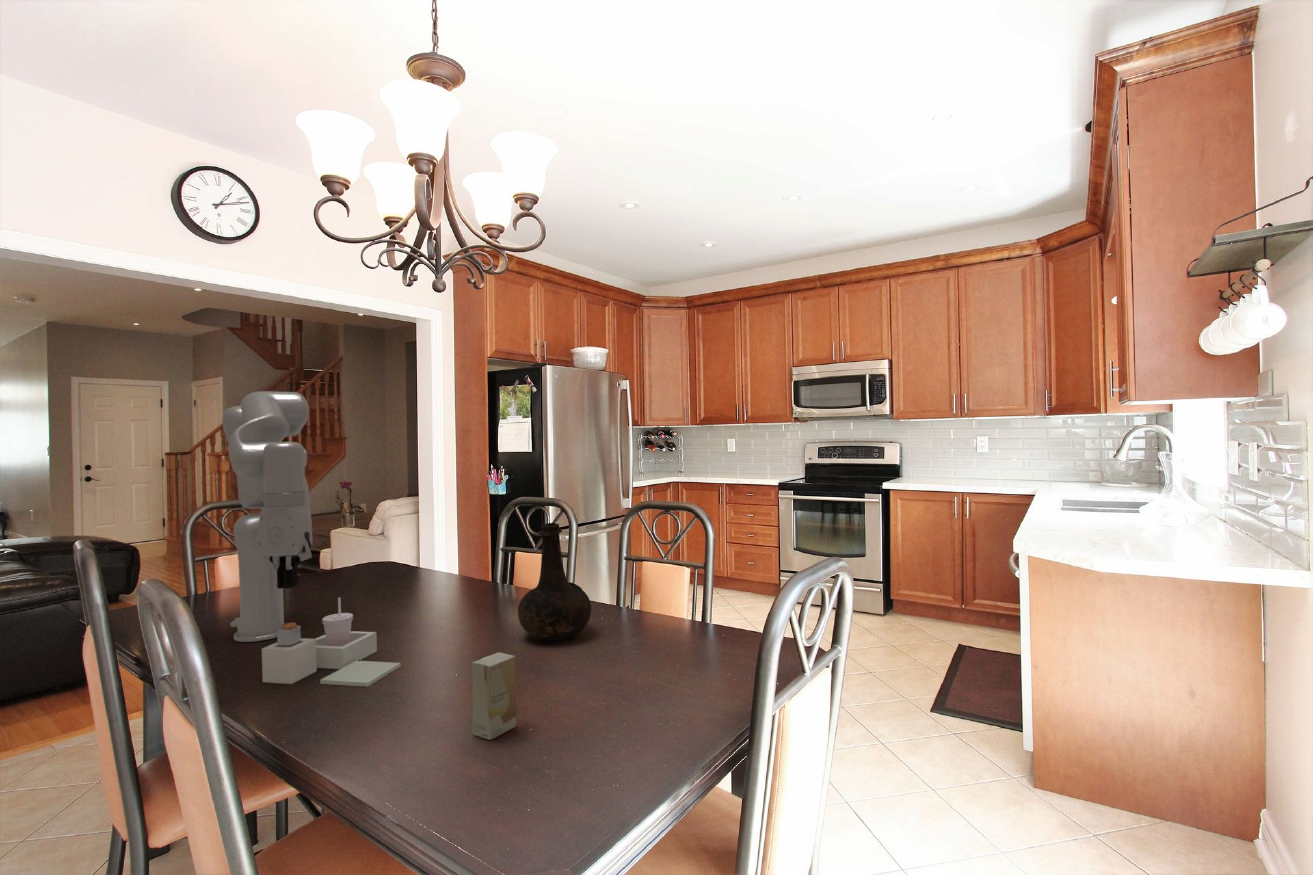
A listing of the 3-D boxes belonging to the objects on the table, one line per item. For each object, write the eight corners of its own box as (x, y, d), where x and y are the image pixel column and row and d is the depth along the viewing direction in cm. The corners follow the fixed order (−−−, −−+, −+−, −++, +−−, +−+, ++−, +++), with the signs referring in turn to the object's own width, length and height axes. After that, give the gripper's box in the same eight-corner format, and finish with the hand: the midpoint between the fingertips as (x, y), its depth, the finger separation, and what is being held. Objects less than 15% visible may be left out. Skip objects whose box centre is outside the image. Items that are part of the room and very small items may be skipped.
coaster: (320, 683, 128) (320, 679, 128) (356, 664, 139) (356, 660, 139) (367, 686, 126) (367, 682, 126) (400, 666, 137) (400, 662, 137)
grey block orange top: (278, 657, 131) (277, 626, 131) (289, 652, 134) (288, 622, 134) (290, 658, 131) (289, 626, 131) (301, 653, 134) (300, 622, 134)
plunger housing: (262, 682, 130) (261, 648, 130) (288, 669, 137) (288, 637, 137) (291, 683, 128) (290, 650, 128) (316, 671, 135) (315, 638, 135)
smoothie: (341, 664, 139) (339, 601, 139) (316, 663, 140) (314, 601, 140) (360, 654, 145) (358, 594, 145) (336, 653, 146) (334, 593, 146)
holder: (298, 666, 138) (297, 646, 138) (334, 649, 149) (334, 630, 149) (343, 669, 136) (342, 648, 136) (376, 651, 147) (376, 632, 147)
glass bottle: (606, 633, 156) (603, 521, 156) (550, 653, 143) (547, 531, 143) (559, 620, 168) (556, 517, 168) (503, 638, 154) (500, 525, 154)
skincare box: (490, 741, 102) (488, 667, 102) (471, 735, 104) (469, 662, 104) (518, 725, 107) (516, 654, 107) (500, 719, 110) (498, 650, 110)
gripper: (239, 502, 130) (242, 590, 130) (303, 502, 127) (305, 592, 127) (268, 499, 138) (271, 582, 138) (329, 498, 134) (331, 583, 135)
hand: (287, 586), depth 132 cm, fingers closed
